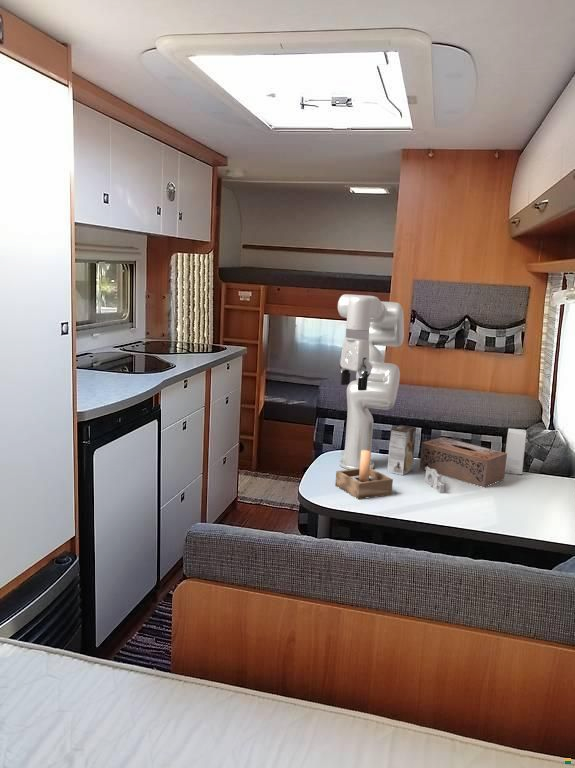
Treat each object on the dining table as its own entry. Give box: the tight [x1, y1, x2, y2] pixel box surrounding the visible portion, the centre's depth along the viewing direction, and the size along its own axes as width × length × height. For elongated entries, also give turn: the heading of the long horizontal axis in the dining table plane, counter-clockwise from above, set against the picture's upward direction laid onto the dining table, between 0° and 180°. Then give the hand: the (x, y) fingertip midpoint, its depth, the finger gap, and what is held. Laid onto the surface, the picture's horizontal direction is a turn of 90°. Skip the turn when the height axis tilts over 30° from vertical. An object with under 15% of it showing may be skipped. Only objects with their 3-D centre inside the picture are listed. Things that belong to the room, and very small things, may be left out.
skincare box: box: [504, 428, 527, 475], centre depth 228 cm, size 8×7×16 cm
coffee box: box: [387, 424, 417, 476], centre depth 220 cm, size 9×6×16 cm
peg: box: [359, 450, 372, 482], centre depth 197 cm, size 3×3×12 cm
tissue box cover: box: [419, 436, 507, 488], centre depth 221 cm, size 26×14×10 cm, turn 45°
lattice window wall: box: [424, 467, 445, 494], centre depth 205 cm, size 12×2×6 cm, turn 13°
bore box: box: [334, 468, 394, 500], centre depth 198 cm, size 13×13×5 cm
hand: (353, 387), depth 200 cm, fingers open, 9 cm apart
